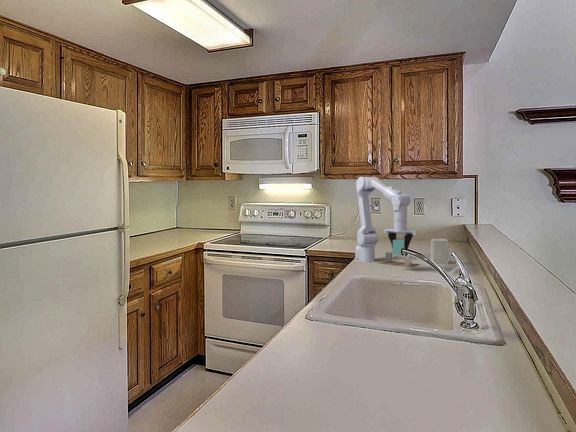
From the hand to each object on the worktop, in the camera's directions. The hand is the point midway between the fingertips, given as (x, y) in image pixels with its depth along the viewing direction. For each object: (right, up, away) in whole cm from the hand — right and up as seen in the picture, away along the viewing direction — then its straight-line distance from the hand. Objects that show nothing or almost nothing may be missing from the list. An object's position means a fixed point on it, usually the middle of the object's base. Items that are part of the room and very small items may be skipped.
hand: (400, 249), depth 181 cm
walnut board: (+3, -9, +14) cm, 17 cm away
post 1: (-1, -8, +16) cm, 18 cm away
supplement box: (+24, -9, +15) cm, 29 cm away
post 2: (+7, -8, +11) cm, 15 cm away
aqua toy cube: (0, -2, 0) cm, 2 cm away
